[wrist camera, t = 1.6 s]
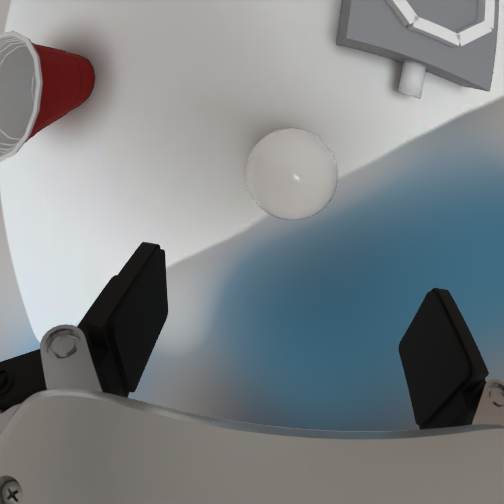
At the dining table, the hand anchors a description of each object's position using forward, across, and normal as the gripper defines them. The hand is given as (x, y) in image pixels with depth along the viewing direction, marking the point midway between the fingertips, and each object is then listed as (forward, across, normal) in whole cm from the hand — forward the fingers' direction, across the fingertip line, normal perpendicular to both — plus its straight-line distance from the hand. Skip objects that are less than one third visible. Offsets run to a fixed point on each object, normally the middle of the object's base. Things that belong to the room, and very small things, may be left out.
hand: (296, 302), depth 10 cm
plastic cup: (+21, +23, -6) cm, 32 cm away
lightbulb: (+21, 0, 0) cm, 21 cm away
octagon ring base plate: (+20, -9, -17) cm, 28 cm away
